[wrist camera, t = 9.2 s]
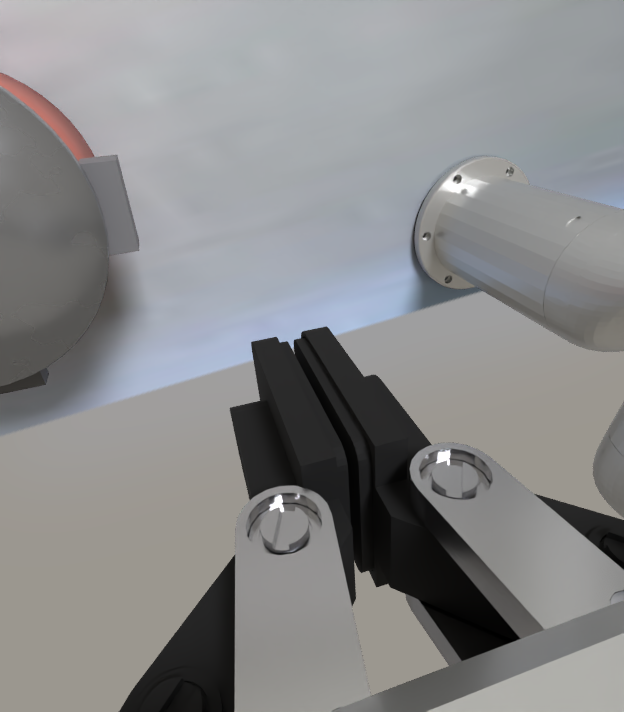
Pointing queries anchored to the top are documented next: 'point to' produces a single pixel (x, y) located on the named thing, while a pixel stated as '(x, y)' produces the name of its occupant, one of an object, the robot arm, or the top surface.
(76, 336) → the cooker lid
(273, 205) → the top surface
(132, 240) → the cooker pot
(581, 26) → the top surface
